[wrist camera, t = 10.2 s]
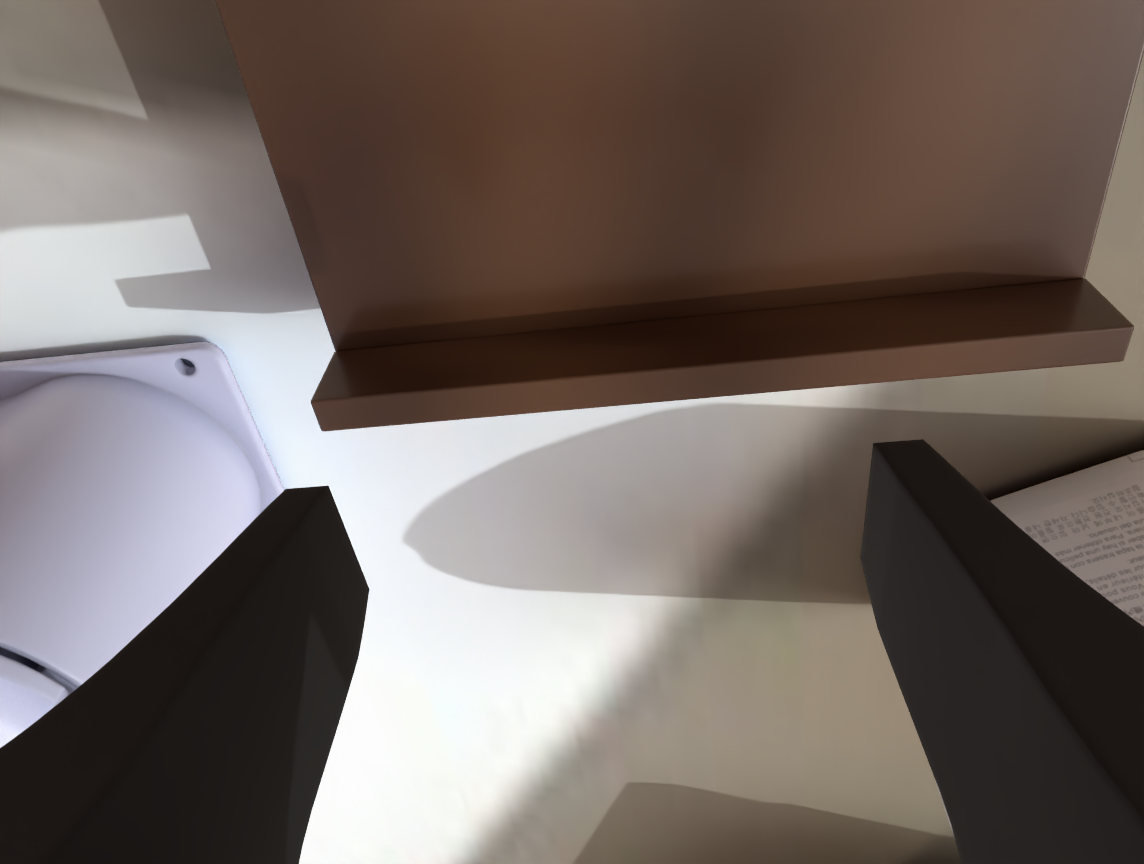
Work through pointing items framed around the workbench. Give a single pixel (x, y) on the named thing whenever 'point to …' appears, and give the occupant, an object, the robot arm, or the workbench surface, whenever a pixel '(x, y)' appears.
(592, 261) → the shelf
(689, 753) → the workbench surface
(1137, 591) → the white boxy piece
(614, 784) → the workbench surface
